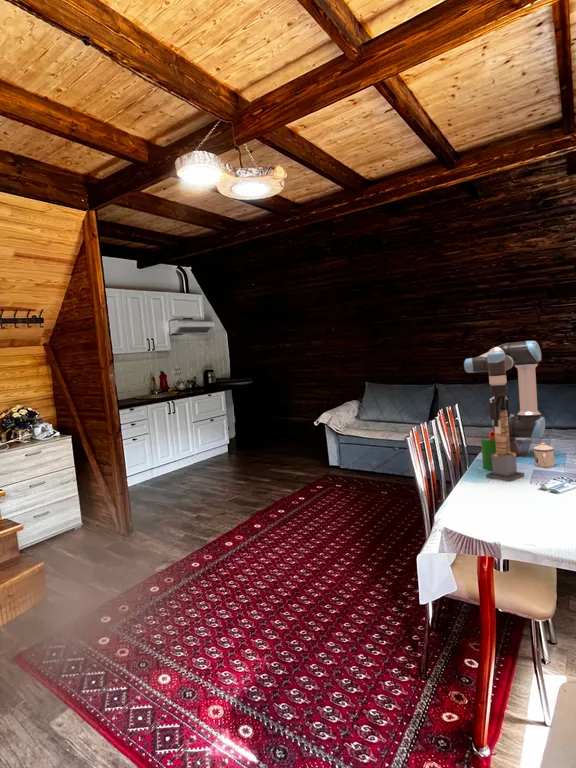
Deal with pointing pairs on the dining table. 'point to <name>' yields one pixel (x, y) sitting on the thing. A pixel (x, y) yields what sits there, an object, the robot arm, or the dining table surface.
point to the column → (503, 435)
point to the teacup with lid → (544, 455)
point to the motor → (488, 451)
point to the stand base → (504, 467)
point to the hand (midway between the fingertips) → (501, 432)
